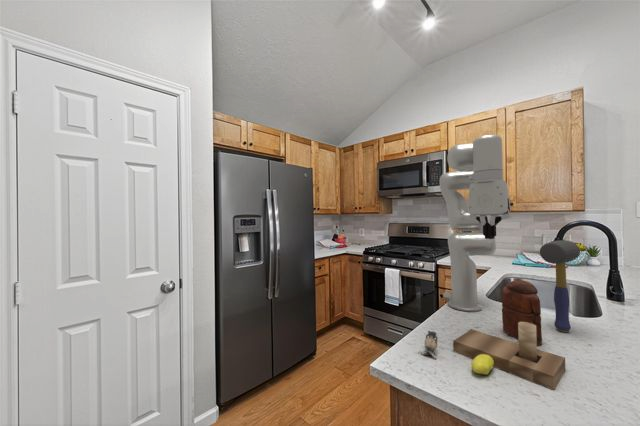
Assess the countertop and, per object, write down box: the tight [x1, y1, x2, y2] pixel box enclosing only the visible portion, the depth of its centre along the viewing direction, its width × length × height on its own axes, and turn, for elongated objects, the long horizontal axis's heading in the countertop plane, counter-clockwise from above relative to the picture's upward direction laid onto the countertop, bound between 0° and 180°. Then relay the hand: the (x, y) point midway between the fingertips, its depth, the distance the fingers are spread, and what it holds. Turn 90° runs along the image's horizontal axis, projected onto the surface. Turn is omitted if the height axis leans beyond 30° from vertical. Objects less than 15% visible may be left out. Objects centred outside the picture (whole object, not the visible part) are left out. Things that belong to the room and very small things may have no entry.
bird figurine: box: [417, 330, 438, 360], centre depth 75 cm, size 5×5×6 cm
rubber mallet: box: [539, 239, 581, 333], centre depth 87 cm, size 12×8×30 cm, turn 119°
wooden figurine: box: [501, 279, 543, 346], centre depth 83 cm, size 12×6×18 cm, turn 23°
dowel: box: [518, 322, 538, 363], centre depth 67 cm, size 4×4×11 cm
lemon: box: [471, 354, 494, 376], centre depth 66 cm, size 4×8×4 cm, turn 123°
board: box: [452, 328, 566, 391], centre depth 71 cm, size 22×12×3 cm, turn 38°
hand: (489, 238), depth 79 cm, fingers closed
